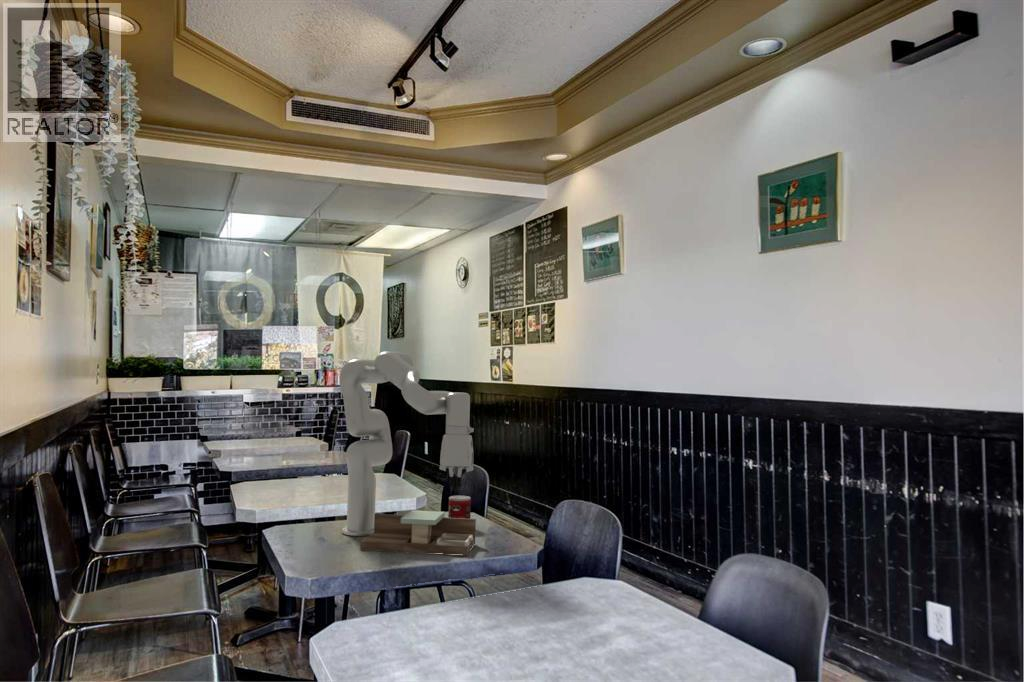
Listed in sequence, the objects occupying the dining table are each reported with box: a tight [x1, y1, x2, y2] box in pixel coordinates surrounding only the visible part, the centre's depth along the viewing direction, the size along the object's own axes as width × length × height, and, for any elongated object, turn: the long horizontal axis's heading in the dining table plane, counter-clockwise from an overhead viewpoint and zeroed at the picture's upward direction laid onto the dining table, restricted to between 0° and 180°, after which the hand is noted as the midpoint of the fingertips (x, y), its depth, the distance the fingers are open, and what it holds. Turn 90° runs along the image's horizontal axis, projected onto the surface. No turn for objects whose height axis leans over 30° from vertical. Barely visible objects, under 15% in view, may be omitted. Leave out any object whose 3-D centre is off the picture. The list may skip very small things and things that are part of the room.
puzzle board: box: [359, 513, 477, 556], centre depth 210 cm, size 14×34×8 cm, turn 83°
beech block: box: [412, 524, 431, 544], centre depth 209 cm, size 5×5×8 cm
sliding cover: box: [401, 509, 446, 525], centre depth 211 cm, size 13×11×2 cm
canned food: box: [447, 495, 472, 519], centre depth 238 cm, size 8×8×11 cm
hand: (455, 489), depth 208 cm, fingers closed
